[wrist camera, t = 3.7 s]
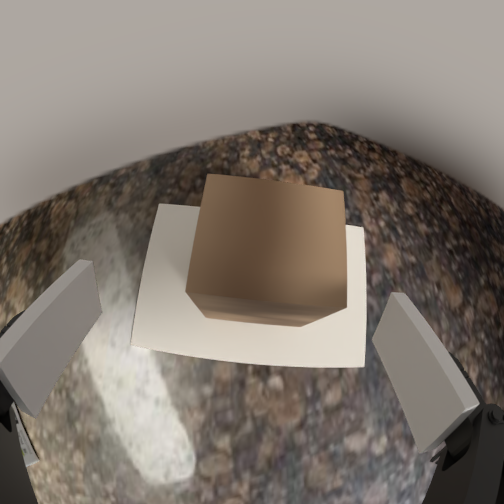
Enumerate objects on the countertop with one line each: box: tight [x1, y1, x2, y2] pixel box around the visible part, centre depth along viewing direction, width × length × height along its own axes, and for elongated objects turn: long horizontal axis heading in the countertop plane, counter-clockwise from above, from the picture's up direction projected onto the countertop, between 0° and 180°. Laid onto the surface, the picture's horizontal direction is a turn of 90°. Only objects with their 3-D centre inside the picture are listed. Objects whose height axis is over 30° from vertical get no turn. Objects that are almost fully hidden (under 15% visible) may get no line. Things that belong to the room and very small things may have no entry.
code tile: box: [131, 203, 366, 367], centre depth 21 cm, size 18×12×1 cm, turn 85°
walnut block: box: [185, 174, 347, 327], centre depth 17 cm, size 7×6×9 cm
